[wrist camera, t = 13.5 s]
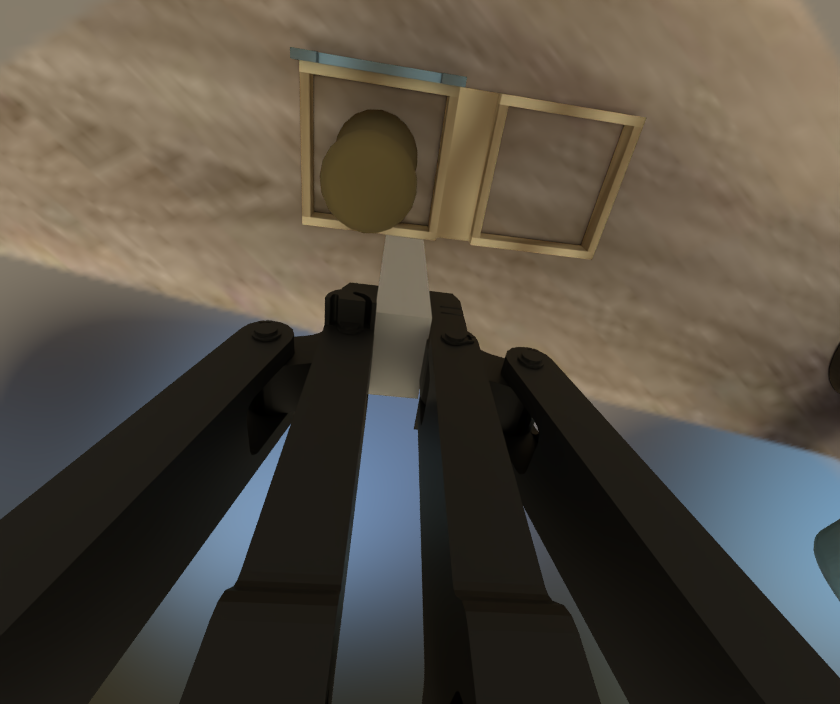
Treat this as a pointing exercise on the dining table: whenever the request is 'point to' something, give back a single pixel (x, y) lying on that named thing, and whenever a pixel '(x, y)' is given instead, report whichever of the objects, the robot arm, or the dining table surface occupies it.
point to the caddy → (459, 152)
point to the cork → (370, 172)
